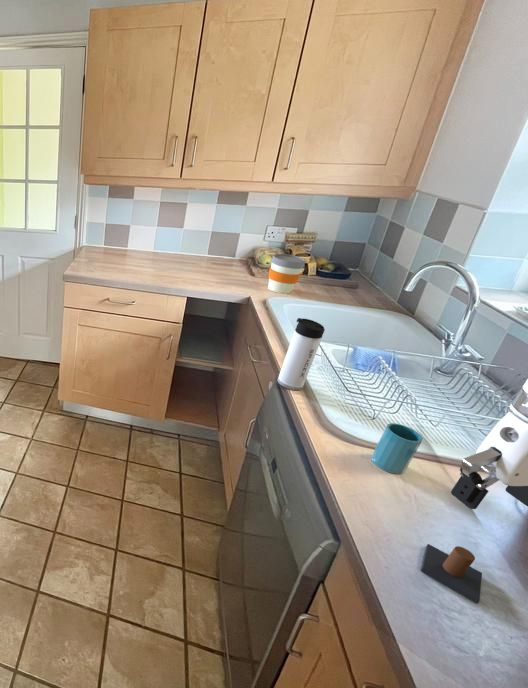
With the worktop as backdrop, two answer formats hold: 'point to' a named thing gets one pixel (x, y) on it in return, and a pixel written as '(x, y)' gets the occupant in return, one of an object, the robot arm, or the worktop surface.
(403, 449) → the cup
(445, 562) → the dark grey flat slab
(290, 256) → the reusable coffee cup
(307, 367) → the travel mug
